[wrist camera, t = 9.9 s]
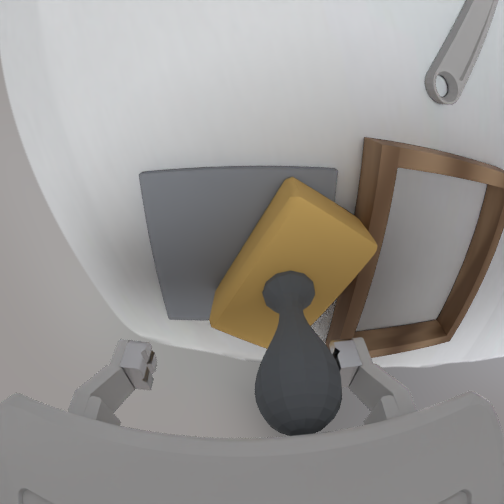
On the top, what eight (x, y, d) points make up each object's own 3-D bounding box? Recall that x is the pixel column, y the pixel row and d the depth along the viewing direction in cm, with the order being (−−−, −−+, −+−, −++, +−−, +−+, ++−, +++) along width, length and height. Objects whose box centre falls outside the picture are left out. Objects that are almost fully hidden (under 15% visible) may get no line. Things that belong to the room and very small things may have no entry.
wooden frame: (498, 167, 15) (517, 177, 13) (440, 325, 25) (449, 341, 23) (364, 137, 15) (382, 144, 13) (325, 342, 24) (330, 363, 22)
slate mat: (334, 168, 16) (337, 170, 15) (313, 312, 22) (315, 317, 22) (142, 171, 16) (139, 174, 15) (170, 314, 22) (169, 319, 21)
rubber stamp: (287, 173, 15) (337, 328, 5) (362, 220, 17) (456, 374, 6) (214, 291, 20) (182, 450, 10) (280, 320, 21) (288, 468, 11)
